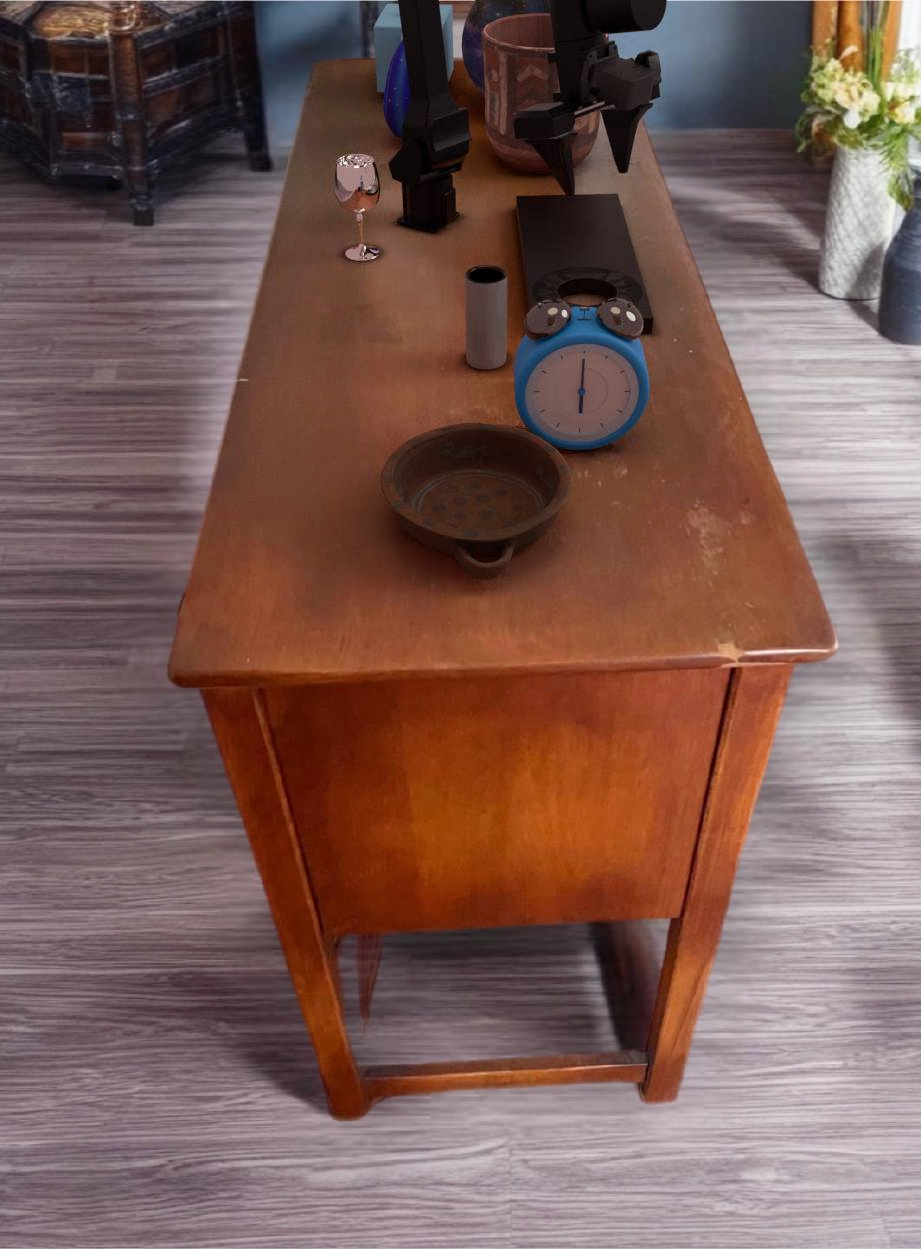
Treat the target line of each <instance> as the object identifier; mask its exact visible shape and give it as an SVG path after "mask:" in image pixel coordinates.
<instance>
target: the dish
mask: <svg viewBox="0 0 921 1249" xmlns="http://www.w3.org/2000/svg"><path fill="white" fill-rule="evenodd" d="M379 477H380V478H379V480H380V483H379V484H380V489H381V492H382V493H383V496H384V498H385V500H386V501H387V503H388V504H389V505H390V507H391V508H392V509H393V510H394V512H395V514H396V516H397V518H398V520H399V522H400V523H401V525H402V527H403V528H404V529H405V530H406V532H407V533H408V534H409V535H410V536H411V537H413V538H414V539H415V540H416V541H418V542H420V543H421V544H422V545H424V546H426V547H428V548H430V549H432V550H435V551H437V552H439V553H443V554H444V555H445V554H446V555H449V556H451V557H455V558H456V560H457V562H458V564H459V566H460V568H461V569H462V570H463V571H464V572H465V573H466V574H467V575H469V576H470V577H472V578H475V579H477V580H478V579H479V580H490V579H491V580H492V579H495V578H497V577H500V576H501V575H503V574H504V572H505V571H506V570H507V569H508V567H509V565H510V561H511V559H512V557H513V554H515V553H518V552H521V551H524V550H526V549H528V548H529V547H531V546H533V545H534V544H536V543H537V542H538V541H540V539H542V538H543V537H544V536H545V535H546V534H547V532H548V531H549V529H551V527H552V525H553V523H554V522H555V519H556V517H557V515H558V512H559V510H560V509H561V508H562V506H563V505H564V504H565V503H566V501H567V499H568V497H569V495H570V492H571V488H572V474H571V470H570V466H569V464H568V462H567V461H566V459H565V458H564V456H563V455H562V454H561V453H560V452H559V450H558V449H557V448H556V447H555V446H552V445H550V444H549V443H547V442H546V441H545V440H543V439H542V438H540V437H538V436H536V435H534V434H533V433H532V432H530V431H527V430H525V429H521V428H516V427H513V426H512V427H511V426H506V425H502V424H492V423H486V422H485V423H484V422H463V423H456V424H451V425H446V426H442V427H441V426H440V427H437V428H433V429H431V430H428V431H426V432H423V433H421V434H418V435H416V436H414V437H411V438H410V439H408V440H407V441H405V442H404V443H402V444H401V445H399V447H397V448H396V449H395V450H394V451H393V452H392V453H391V455H390V456H389V457H388V458H387V459H386V461H385V462H384V465H383V468H382V469H381V472H380V476H379ZM476 559H477V560H476ZM489 559H497V560H494V561H490V562H483V561H478V560H489Z"/></svg>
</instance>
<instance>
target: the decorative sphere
mask: <svg viewBox="0 0 921 1249" xmlns="http://www.w3.org/2000/svg"><path fill="white" fill-rule="evenodd" d="M532 13H550V12H549V4H548V0H474V1H473V3H472V4H471V6H470V8H469V10H468V13H467V16H466V19H465V21H464V24H463V29H462V33H461V55H462V56H461V57H462V61H463V64H464V67H465V70H466V72H467V75H468V77H469V79H470V81H471V82H472V83H473V85H474V86H475V88H476V89H477V91H479V93H480V94H481V95H482V96H483V97H484V98H485V73H484V59H483V49H482V31H483V29H484V27H485V26H486V25H488V24H490V23H492V22H494V21H496V20H498V19H501V18H505V17H509V16H514V15H521V14H532Z"/></svg>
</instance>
